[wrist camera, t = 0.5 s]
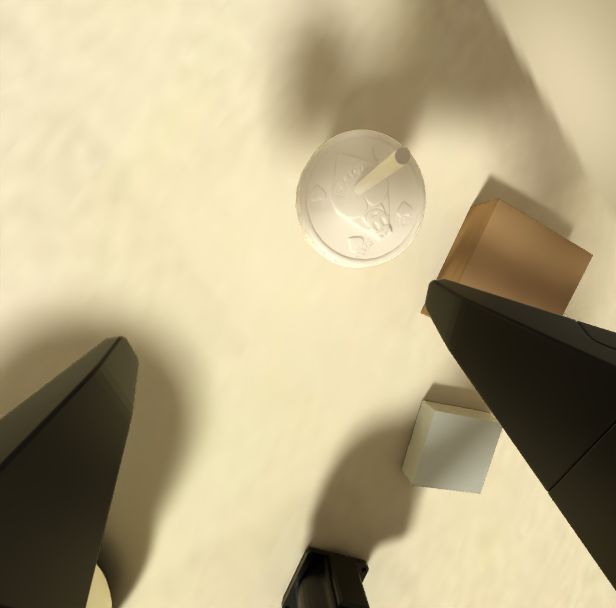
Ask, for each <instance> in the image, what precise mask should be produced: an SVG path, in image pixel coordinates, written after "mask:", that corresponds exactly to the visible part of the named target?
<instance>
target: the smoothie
mask: <svg viewBox="0 0 616 608" xmlns="http://www.w3.org/2000/svg"><path fill="white" fill-rule="evenodd" d="M425 203H426V194H425V186H424V181H423V177H422V174H421V171H420V169H419V167H418V165H417V163H416V161H415V159H414V158H413V156H412V155H411V153H410V151H409V149H408V148H406V147H404V146H403V145H402V144H401V143H399V142H398V141H397V140H395V139H394V138H392V137H390V136H388V135H386V134H384V133H381V132H378V131H374V130H367V129H357V130H350V131H346V132H343V133H340V134H338V135H336V136H334V137H332V138H330V139H329V140H327V141H326V142H325V143H323V144H322V145H321V146H320V147H319V148H318V149H317V150H316V152H315V153H314V154H313V155H312V157H311V158H310V160H309V162H308V163H307V165H306V166H305V168H304V169H303V171H302V173H301V177H300V180H299V183H298V186H297V192H296V210H297V216H298V221H299V225H300V229H301V233H302V236H303V237H304V239H305V240H306V242H307V243H308V244H310V245H311V246H313V248H314V249H315V250H316V251H317V252H318V253H319V254H321V255H322V256H324V257H325V258H326V259H328V260H329V261H331V262H333V263H336V264H339V265H342V266H345V267H355V268H364V267H368V266H374V265H378V264H381V263H384V262H387V261H389V260H391V259H392V258H394V257H396V256H397V255H398V254H400V253H401V252H402V251H403V250H404V249H405V248H406V247H407V246H408V245H409V244H410V243H411V241H412V240H413V239H414V237H415V235H416V234H417V232H418V230H419V228H420V225H421V223H422V220H423V216H424V211H425Z"/></svg>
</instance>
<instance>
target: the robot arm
mask: <svg viewBox="0 0 616 608" xmlns="http://www.w3.org/2000/svg"><path fill="white" fill-rule="evenodd" d="M425 306H426V310H427V312H428V313H429V315H430V317H431V319H432V321H433V323H434V324H435V326H436V328H437V330H438V332H439V334H440V336H441V337H442V339H443V341H444V343H445V344H446V346H447V348H448V349H449V351H450V352H451V354H452V355H453V357H454V358H455V360H456V361H457V363H458V364H459V366H460V367H461V368H462V370H463V371H464V373H465V374H466V376H467V377H468V378H469V380H470V381H471V383H472V384H473V386H474V387H475V389H476V390H477V391H478V393H479V394H480V396H481V397H482V399H483V400H484V401H485V403H486V404H487V406H488V407H489V409H490V410H491V412H492V413H493V414H494V416H495V417H496V419H497V420H498V422H499V423H500V424H501V426H502V427H503V429H504V430H505V432H506V433H507V435H508V436H509V437H510V439H511V440H512V442H513V443H514V445H515V446H516V447H517V449H518V450H519V452H520V453H521V455H522V456H523V458H524V459H525V460H526V462H527V463H528V465H529V466H530V468H531V469H532V470H533V472H534V473H535V475H536V476H537V478H538V479H539V481H540V482H541V483H542V485H543V486H544V488H545V489H546V491H548V494H549V495H550V497H551V498H552V500H553V501H554V502H555V504H556V505H557V507H558V508H559V510H560V511H561V513H562V514H563V515H564V517H565V518H566V520H567V521H568V523H569V524H570V525H571V527H572V528H573V530H574V531H575V533H576V534H577V536H578V537H579V538H580V540H581V541H582V543H583V544H584V546H585V547H586V548H587V550H588V551H589V553H590V554H591V556H592V557H593V559H594V560H595V561H596V563H597V564H598V566H599V567H600V569H601V570H602V572H603V573H604V574H605V576H606V577H607V579H608V580H609V582H610V583H611V584H612V586H613V587H614V589H615V590H616V333H615V332H612V331H609V330H605V329H602V328H599V327H596V326H592V325H589V324H586V323H583V322H580V321H577V322H576V321H575V320H573V319H570V318H567V317H564V316H561V315H558V314H555V313H551V312H548V311H545V310H542V309H539V308H536V307H532V306H529V305H526V304H523V303H520V302H517V301H514V300H510V299H507V298H504V297H501V296H498V295H495V294H492V293H488V292H485V291H482V290H479V289H476V288H473V287H470V286H466V285H463V284H460V283H457V282H454V281H451V280H447V279H438V280H433V281H431V282H430V283H429V286H428V291H427V296H426V301H425ZM137 373H138V358H137V356H136V354H135V352H134V351H133V349H132V347H131V346H130V344H129V342H128V341H127V339H126V338H125V337H123V336H118V337H112V338H107V339H105V340H104V341H102V342H101V343H100V344H98V345H97V346H96V347H95V348H93V349H92V350H91V351H89V352H88V353H87V354H85V355H84V356H83V357H81V358H80V359H79V360H77V361H76V362H75V363H74V364H72V365H71V366H70V367H68V368H67V369H66V370H64V371H63V372H62V373H60V374H59V375H58V376H57V377H55V378H54V379H53V380H51V381H50V382H49V383H47V384H46V385H45V386H43V387H42V388H41V389H39V390H38V391H37V392H36V393H34V394H33V395H32V396H30V397H29V398H28V399H26V400H25V401H24V402H22V403H21V404H20V405H19V406H17V407H16V408H15V409H13V410H12V411H11V412H9V413H8V414H7V415H5V416H4V417H3V418H1V419H0V608H86V605H87V601H88V596H89V592H90V588H91V584H92V580H93V576H94V572H95V568H96V563H97V559H98V555H99V551H100V547H101V543H102V539H103V535H104V531H105V526H106V522H107V518H108V514H109V510H110V506H111V502H112V498H113V493H114V489H115V485H116V481H117V477H118V473H119V469H120V465H121V461H122V456H123V452H124V448H125V444H126V440H127V436H128V432H129V428H130V423H131V419H132V414H133V407H134V399H135V390H136V382H137ZM311 554H312V555H311ZM368 570H369V567H368V564H367V562H366V561H363V560H359V559H355V558H351V557H347V556H343V555H339V554H335V553H331V552H327V551H323V550H319V549H315V548H309V549H308V550H307V551H306V553H305V555H304V557H303V559H302V561H301V563H300V565H299V567H298V569H297V572H296V574H295V576H294V578H293V580H292V582H291V584H290V586H289V588H288V591H287V593H286V595H285V597H284V599H283V601H282V608H370V607H369V604H368V601H367V597H366V594H365V591H364V588H363V584H362V582H363V580H364V578H365V576H366V574H367V572H368Z"/></svg>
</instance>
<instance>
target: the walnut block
mask: <svg viewBox="0 0 616 608" xmlns="http://www.w3.org/2000/svg"><path fill="white" fill-rule="evenodd" d="M592 256H593V255H592V254H591V253H589V252H587V251H586V250H584V249H582V248H581V247H579V246H577V245H576V244H574V243H572V242H570V241H569V240H567V239H565V238H564V237H562V236H560V235H559V234H557V233H555V232H554V231H552V230H550V229H549V228H547V227H545V226H544V225H542V224H540V223H539V222H537V221H535V220H534V219H532V218H530V217H528V216H527V215H525V214H523V213H522V212H520V211H518V210H517V209H515V208H513V207H512V206H510V205H508V204H507V203H505V202H503V201H502V200H500V199H498V200H494V201H490V202H487V203H483V204H479V205H476V206H472V207H471V208H470V210H469V213H468V215H467V217H466V219H465V221H464V223H463V225H462V227H461V229H460V231H459V234H458V236H457V238H456V240H455V242H454V244H453V246H452V248H451V250H450V253H449V255H448V257H447V259H446V261H445V263H444V265H443V267H442V269H441V271H440V274H439V276H438V278H437V280H438V279H447V280H451V281H454V282H457V283H460V284H463V285H466V286H470V287H473V288H476V289H479V290H482V291H485V292H488V293H492V294H495V295H498V296H501V297H504V298H507V299H510V300H514V301H517V302H520V303H523V304H526V305H529V306H532V307H536V308H539V309H542V310H545V311H548V312H551V313H555V314H558V315H561V316H562V315H563V313H564V311H565V309H566V307H567V305H568V303H569V301H570V299H571V297H572V295H573V294H574V292H575V290H576V288H577V286H578V284H579V282H580V280H581V278H582V276H583V274H584V272H585V270H586V268H587V266H588V264H589V262H590V260H591V258H592ZM421 313H422V314H424V315H426V316H428V317H430V315H429V313H428V312H427V310H426V306H425V305H424V307H423V309H422V311H421Z"/></svg>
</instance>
